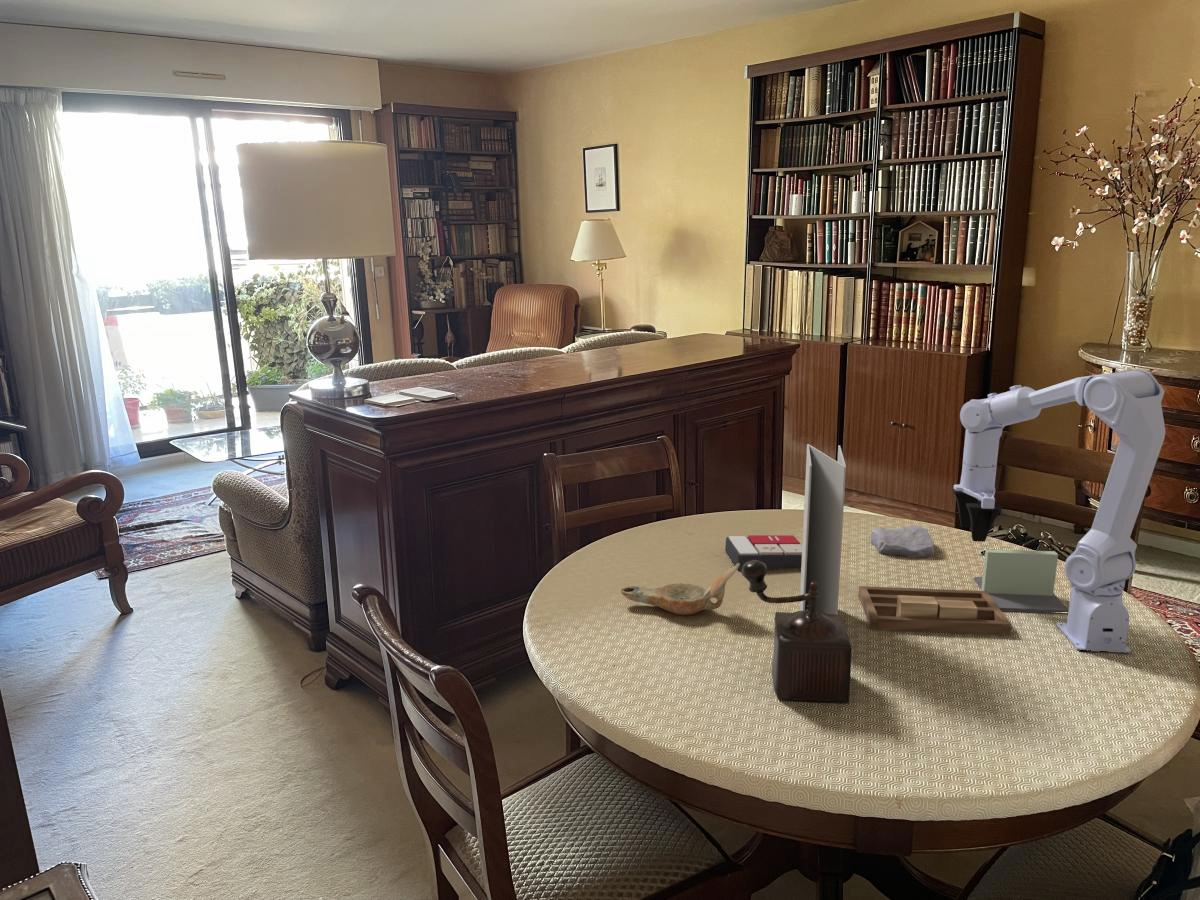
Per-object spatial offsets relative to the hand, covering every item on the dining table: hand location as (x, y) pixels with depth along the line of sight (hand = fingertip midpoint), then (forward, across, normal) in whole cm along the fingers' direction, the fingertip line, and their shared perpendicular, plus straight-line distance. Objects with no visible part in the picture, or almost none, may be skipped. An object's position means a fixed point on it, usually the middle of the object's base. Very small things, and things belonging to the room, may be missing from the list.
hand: (972, 533), depth 160 cm
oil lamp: (+11, +16, -54) cm, 57 cm away
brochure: (+11, +19, -30) cm, 37 cm away
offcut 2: (+11, +18, -7) cm, 22 cm away
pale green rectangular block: (+10, +4, +8) cm, 13 cm away
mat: (+10, +4, +8) cm, 14 cm away
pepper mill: (+11, +40, -36) cm, 55 cm away
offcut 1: (+10, +18, -13) cm, 24 cm away
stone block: (+11, -18, -8) cm, 23 cm away
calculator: (+11, -10, -37) cm, 40 cm away
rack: (+10, +14, -10) cm, 20 cm away
